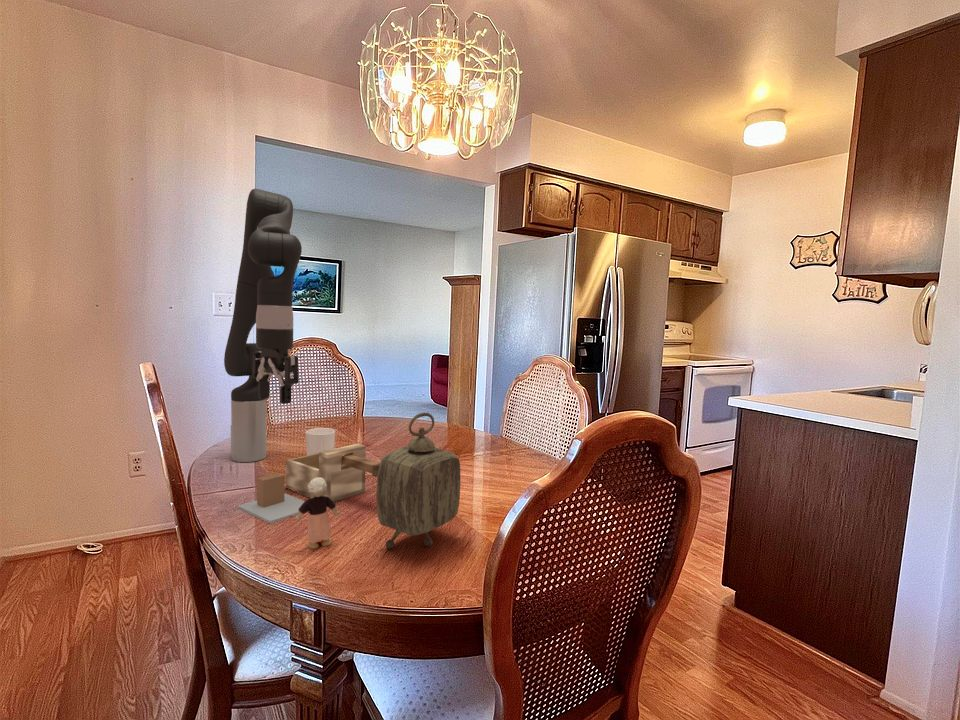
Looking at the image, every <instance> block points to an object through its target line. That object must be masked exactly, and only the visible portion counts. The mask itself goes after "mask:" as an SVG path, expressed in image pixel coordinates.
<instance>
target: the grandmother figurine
mask: <svg viewBox="0 0 960 720" xmlns="http://www.w3.org/2000/svg"><path fill="white" fill-rule="evenodd" d="M326 487H327V485H326V481H325V480H324V479H323V478H320V477H319V478H318V477H317V478H314V479H313V480H311V482H310V483H309V485H308V491H309V492H310V493H311V495H312V496H314V498H309V499H306V500H304V501H305V502H304V503H303V504H302V505H301V507H300V508H299V509H298V510H299V511H298V513H297V515H296V516H294V519H295V521H298V522H299V521H301V520H302V517H303V515H305V514H306V513H308V516H307V538H308V541H307V543H306V546H307V547H308V548H309V549H317V548H319V546H320V545H321V546H322V547H326V546H330V545H331V543H332V538H331V536H330V532H331V531H330V522H329V521H330V519H329V514H328V509H327V508H329V509H330V510H331V512H332V514H333V516H335V517H338V516H339V514H340V511H339V510H338V507H337V505H336V502H333V501H332V500H331V499H330V498H329V497H326V496H322V495H323V494H324V492H325V490H326ZM319 542H320V545H319Z"/></svg>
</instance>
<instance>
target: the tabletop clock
mask: <svg viewBox="0 0 960 720" xmlns="http://www.w3.org/2000/svg"><path fill="white" fill-rule="evenodd" d="M423 417H428V418H430V420H431V425H430V427H428V429H426V430H425V428H424V427H420V428H419V429H418V432H414V431H413V430H412V426H413V424H414V422H415V421H416V420H417V419H419V418H423ZM434 426H435V419H434V416H433V415H432V414H431V413H429V412H421V413H418V414H416V415H414V416H413V417H412V418H411V420H410V421H409V424H408V431H409V433H410V435H412V436H414V437H413V438H412V439H411V440H410V441H409V443H408V444H407V446H403V447H400V448H398V449H395V450H393V451H389V452H388V453H387V454H385V455H384V456H383V457H382V458H381V459H380V462H379V463H380V466H379V471H378V476H377V480H376V492H375V495H376V512H377V518H378V522H379V524H380V525H381V526H384V527H387V528H389V529H393V530H395V532H394V533H393V536H392V537H391V539H387V540H386V541H385V542H384V543H385V547H386V549H393V547H394V546H395V540H396V539H397V537H398V536H399V535H400V534H401V533H403V534H406V535H409V536H419V535H422V534H424V535H425V538H424V540H423V543H424V546H426V547H431V546H432V545H433V542H434V541H433V539H432V537H430V534H429V532H430V531H433V530H435V529H438V528H440V527H442V526H443V525H446V524H447V523H449V522H451V520H453V519H454V518H455V517H456V516H457V515H458V511H459V508H460V507H459V506H460V496H461V464H460V459H459V458H458V456H457V455H456V454H455V453H454V452H453V451H450V450H445V449H441V448H436V446H435V444H434V441H433V440H431V439H430V437H428V436H425V435H427V434H429V433H430V432H431V431H432V430H433V428H434Z"/></svg>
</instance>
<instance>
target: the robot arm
mask: <svg viewBox="0 0 960 720" xmlns="http://www.w3.org/2000/svg"><path fill="white" fill-rule="evenodd" d="M246 200H247V201H246V208H245V209H246V210H245V221H244V232H243V233H244V234H243V245H242V252H241V259H240V265H239V270H238V275H237V283H236V287H235V288H236V290H235V297H234V298H235V300H234V307H233V314H232V319H231V325H230V329H229V333H228V338H227V341H226V345H225V350H224V359H223V365H224V370H225V373H226V374H227V375H228V376H230V377H248V379H247V380H246V381H245V382H244V383H242V384H241V385H239V386H237V387H235V388H233V389H232V390H231V393H230V404H231V405H230V410H231V411H230V412H231V414H230V417H231V420H230V421H231V423H230V458H231V460H232V461H233V462H239V463H251V462H257V461H262V460H264V459H266V458H267V399H269V398H270V379H271V377H272V375H273V376H274V377H275V379H277V380H278V382H279V402H280V404H282V405H286V404H291V403H292V386H294V385H295V384H298V383H299V356H298V355H289V350H291V349H293V347H294V312H293V287H294V280H295V276H296V271H297V268H298V266H299V262H300V261H301V260H300V259H301V256H302V244H301V243H302V242H301V241H300V239H299V237H297V236H296V235H294V234H292V233H291V227H292V223H293V216H294V205H293V202H292V200H291V199H290V198H289V197H288V196H286V195H283V194H280V193H279V194H278V193H275V192H272V191H271V192H270V191H268V190H263V189H259V188H253V189H251V190H250V192H249V193H248V197H247V199H246ZM272 267H283V270H282V272H281V273H280V274H278V275H275V274H274V271H273V268H272ZM254 326H255V342H253V343H251V342H249V343H248V338H249V337H250V333H251V331H252V330H253V327H254Z"/></svg>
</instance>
